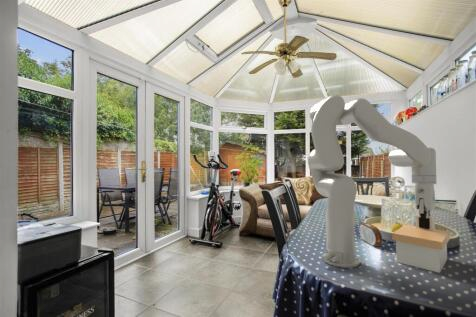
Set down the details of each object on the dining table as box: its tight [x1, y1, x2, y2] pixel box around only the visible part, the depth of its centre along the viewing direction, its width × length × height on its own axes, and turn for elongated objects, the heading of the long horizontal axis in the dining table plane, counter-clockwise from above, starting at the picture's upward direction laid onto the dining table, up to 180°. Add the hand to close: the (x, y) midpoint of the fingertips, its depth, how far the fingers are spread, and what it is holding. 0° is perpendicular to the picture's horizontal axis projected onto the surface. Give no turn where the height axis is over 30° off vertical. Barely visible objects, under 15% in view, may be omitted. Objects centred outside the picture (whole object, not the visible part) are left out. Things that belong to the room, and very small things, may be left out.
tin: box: [358, 221, 383, 247], centre depth 106 cm, size 15×3×8 cm, turn 179°
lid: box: [391, 214, 451, 250], centre depth 87 cm, size 18×14×8 cm
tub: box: [395, 241, 448, 274], centre depth 87 cm, size 16×12×8 cm
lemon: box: [391, 222, 403, 233], centre depth 109 cm, size 6×6×8 cm
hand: (424, 227), depth 91 cm, fingers closed
